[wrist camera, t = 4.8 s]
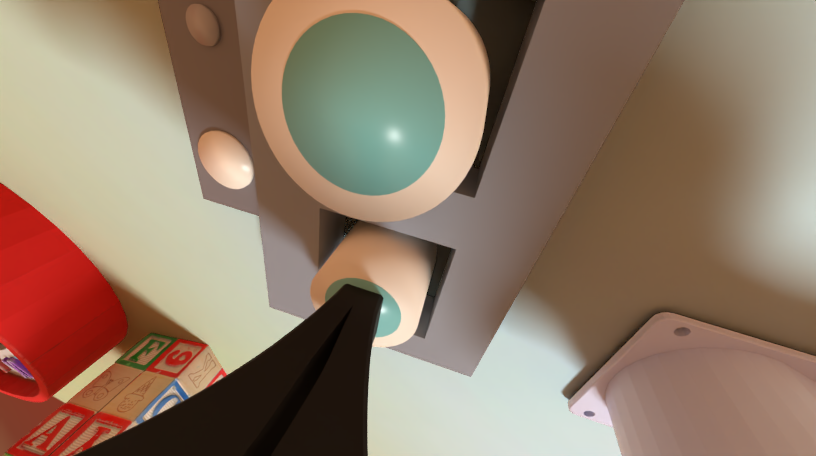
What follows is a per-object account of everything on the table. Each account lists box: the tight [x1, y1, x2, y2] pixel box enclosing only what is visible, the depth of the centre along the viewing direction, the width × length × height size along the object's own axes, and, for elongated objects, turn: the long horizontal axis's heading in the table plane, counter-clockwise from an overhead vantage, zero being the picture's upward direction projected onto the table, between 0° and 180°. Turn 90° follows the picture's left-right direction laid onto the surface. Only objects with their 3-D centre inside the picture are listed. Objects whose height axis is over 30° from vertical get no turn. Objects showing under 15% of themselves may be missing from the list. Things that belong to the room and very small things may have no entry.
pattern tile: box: [158, 0, 259, 216], centre depth 10 cm, size 4×15×1 cm, turn 169°
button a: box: [310, 220, 437, 347], centre depth 12 cm, size 4×4×4 cm
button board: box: [234, 0, 684, 377], centre depth 9 cm, size 10×22×2 cm, turn 169°
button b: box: [251, 0, 490, 222], centre depth 6 cm, size 4×4×4 cm
